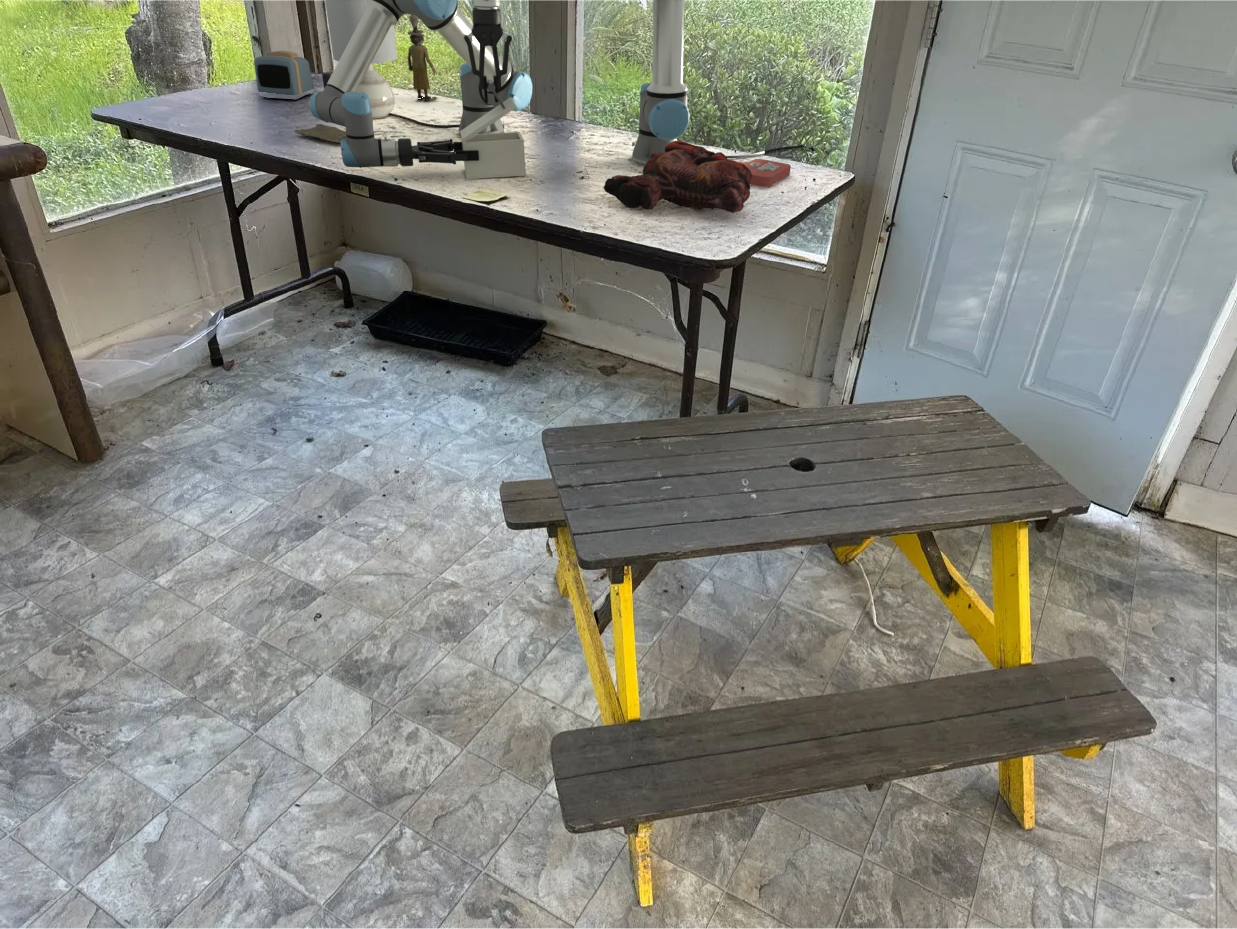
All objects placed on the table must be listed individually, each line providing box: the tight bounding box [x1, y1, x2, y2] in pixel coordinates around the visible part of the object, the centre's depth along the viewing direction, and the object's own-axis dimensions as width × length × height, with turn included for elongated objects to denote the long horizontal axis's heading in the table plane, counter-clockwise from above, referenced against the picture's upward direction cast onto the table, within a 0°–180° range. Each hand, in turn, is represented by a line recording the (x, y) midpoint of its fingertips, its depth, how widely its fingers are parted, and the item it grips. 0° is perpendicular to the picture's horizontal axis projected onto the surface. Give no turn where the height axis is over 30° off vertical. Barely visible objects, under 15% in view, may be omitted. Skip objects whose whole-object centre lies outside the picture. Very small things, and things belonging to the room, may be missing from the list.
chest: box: [460, 131, 527, 180], centre depth 248 cm, size 17×9×10 cm, turn 102°
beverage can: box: [321, 71, 333, 89], centre depth 314 cm, size 9×8×12 cm
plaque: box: [739, 158, 792, 188], centre depth 254 cm, size 18×4×15 cm
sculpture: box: [603, 139, 752, 214], centre depth 228 cm, size 43×30×13 cm
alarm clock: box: [253, 50, 315, 95], centre depth 326 cm, size 16×16×16 cm
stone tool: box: [294, 123, 347, 144], centre depth 277 cm, size 11×3×25 cm
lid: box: [460, 80, 517, 142], centre depth 240 cm, size 18×9×9 cm
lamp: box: [324, 0, 398, 120], centre depth 295 cm, size 22×22×40 cm
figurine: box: [407, 14, 437, 102], centre depth 324 cm, size 11×9×30 cm
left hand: (477, 150), depth 246 cm, fingers closed on chest, 9 cm apart
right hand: (491, 101), depth 240 cm, fingers closed on lid, 2 cm apart
